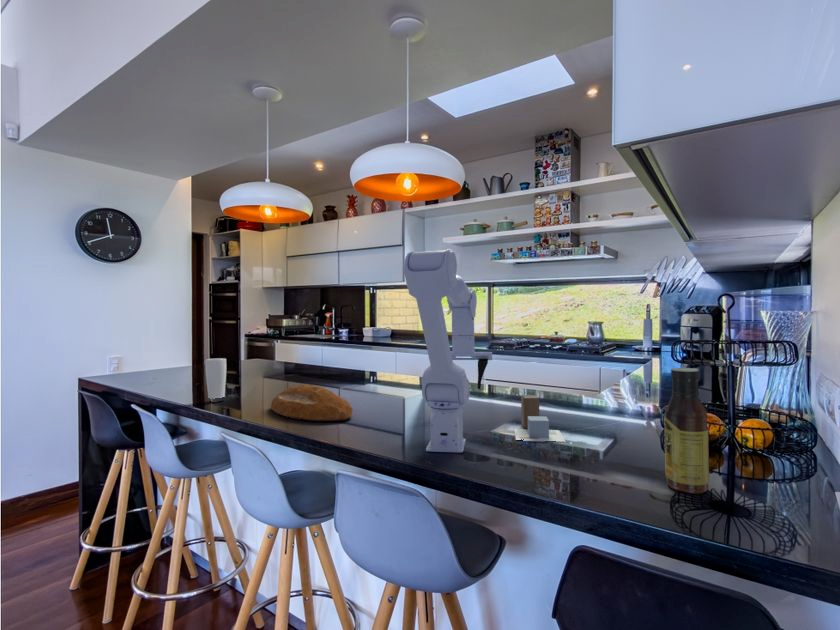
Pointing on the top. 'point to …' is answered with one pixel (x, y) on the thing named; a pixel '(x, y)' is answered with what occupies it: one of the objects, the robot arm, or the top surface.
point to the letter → (553, 436)
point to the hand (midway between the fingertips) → (464, 388)
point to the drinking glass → (216, 377)
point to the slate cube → (538, 426)
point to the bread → (311, 404)
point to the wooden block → (529, 408)
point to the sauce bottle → (686, 435)
